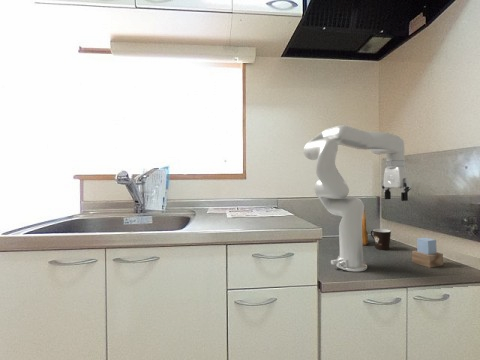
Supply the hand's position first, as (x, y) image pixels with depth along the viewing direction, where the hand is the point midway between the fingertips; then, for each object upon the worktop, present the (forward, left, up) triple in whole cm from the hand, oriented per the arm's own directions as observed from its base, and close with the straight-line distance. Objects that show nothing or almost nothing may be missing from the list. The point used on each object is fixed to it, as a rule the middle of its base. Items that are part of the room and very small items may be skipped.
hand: (395, 199), depth 127 cm
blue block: (+4, -12, -23) cm, 26 cm away
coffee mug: (+6, +15, -28) cm, 33 cm away
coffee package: (+1, +28, -28) cm, 40 cm away
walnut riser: (+4, -12, -28) cm, 31 cm away
